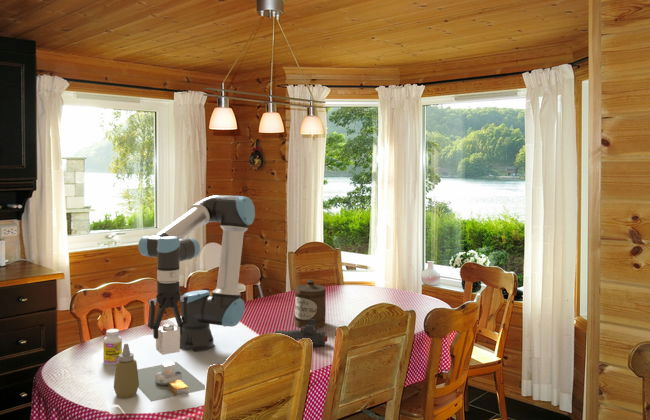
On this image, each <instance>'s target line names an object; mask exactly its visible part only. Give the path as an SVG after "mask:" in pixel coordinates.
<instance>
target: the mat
mask: <svg viewBox="0 0 650 420" xmlns="http://www.w3.org/2000/svg"><path fill="white" fill-rule="evenodd" d="M173 363H174V364H175V370H176V371H179V372H181V381H182V382H183V383H184V384H185V385H187V386H188V393H187V394H190V393H191V394H192V393H195V392H200V391H205V390H206V389H205V386H206V385H205V384H204V383H202V382H201V381H200V380H199V379H197V377H195V376H194V375H193V373H191V372H189V371H188V370H187V369H186V368H184V367H183V366H182V365H181V364H180V363H179V362H177V361H175V362H173ZM137 371H138V379H139V386H138V389H139V390H140V391H141V392H142V393H143V394H144V395H145V396H146V397H147V399H148V400H149V401H150V402H156V401H159V400H163V399H164V400H165V399H168V398H174V397H177V396H176V395H175V394H174V393H173V392H172V391H171V390H170V389H169V388H168V387H163V386H158V385H156V384H155V375H156V374H157V373H158V372H161V371H162V364H159V365H154V366H148V367H144V368H137ZM182 395H184V394H182ZM182 395H181V396H182Z"/></svg>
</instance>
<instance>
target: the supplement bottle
mask: <svg viewBox="0 0 650 420" xmlns="http://www.w3.org/2000/svg"><path fill="white" fill-rule="evenodd" d="M105 334H106V336H105V337H104V338H103V364H104V365H108V366H109V365H116V362H117V361H119V355H120V354H122V352H123V343H122V342H123V341H122V339H123V337H121V335H120V330H119V329H118V328H110V329H106V332H105Z"/></svg>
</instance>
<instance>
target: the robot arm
mask: <svg viewBox="0 0 650 420" xmlns="http://www.w3.org/2000/svg"><path fill="white" fill-rule="evenodd" d="M255 210H256V208H255V205H254V203H253V201H252V199H251V198H250V197H248V196H244V195H243V196H242V195H225V194H213V195H210V196H208V197H205V198H202V199H201V200H199V201H197V202H195V203H194V204H193V205H191V206H190V208H189V209H188V211H187V212H185V213H184V214H182V215H181V216H179V217H178V218H177V219H175V220H174V221H173V222H172V223H170V224H168V225H167V226H166V227H164V228H162V230H159V231H158V232H157V233H155V234H154V235H144V236H142V237H141V238H140V239H139V241H138V243H137V244H138V245H137V246H138V247H137V248H138V252H139V253H140V254H141V256H144V257H149V258H156V261H157V263H156V265H157V266H156V267H157V270H156V280H157V282H156V285H157V286H156V296H155V298H153V299H148V300H147V303H148V306H149V307H148V319H147V320H148V321H147V327H148V328H149V329H150V330H153V332H152V333H153V335H152V336H153V339H154V340H155V347H157V348H161V330H160V329H159V327H161V323H162V319H163V315H164V313H165V311H166V309H168V308H171V309H172V312H173V316H174V317H175V321H176V324H177V325H174V326H175V327H177V328H178V329H180V350H181V349H182V350H186V351H193V352H199V351H207V350H209V349H211V348H213V346H215V345H214V341H215V340H214V336H213V334H212V330H211V327H210V325H215V326H216V325H217V326H222V327H233V328H234V327H235V326H237V325H238V324H240V322H241V320H242V319H243V316H244V313H245V309H246V308H245V307H246V306H245V301H244V299H242V298H241V293H240V292H239V290H238V289H239V278H240V270H241V262H242V261H241V260H242V254H243V253H242V251H243V243H244V242H243V241H244V233H245V232H247V231H248V230H249V226H250V225H252V224H253V223H254V220H255V217H256V211H255ZM208 223H220V225H219V226H220V228H221V229H222V240H221V248H220V254H219V255H220V257H219V265H218V274H217V282H216V288H214V290H213V291H212V293H210V292H211V291H210V290H209V289H208V290H207V289H203V290H202V289H199V290H192V291H188V292H185V293H184V294H183V295H181V294H180V281H179V280H180V263H181V262H183V261H188V260H192V259H194V258H196V257H197V256H199V254H200V252H201V246H200V243H199V241H198V240H197V239H195V238H193V237H192V238H191V237H190V238H189V237H188V235H190V234H192V233H193V232H194V231H195V230H197V229H198V228H199V227H200V226H206V225H207V224H208ZM179 301H180V311H179V307H178V302H179ZM157 303H158V308H157V309H158V310H157V313H156V305H157ZM180 312H181V313H180ZM155 314H156V316H155ZM180 314H181V315H180Z"/></svg>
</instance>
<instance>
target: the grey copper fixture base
mask: <svg viewBox="0 0 650 420" xmlns="http://www.w3.org/2000/svg"><path fill="white" fill-rule="evenodd" d="M161 365H162V371H161V372H158V373H157V374H156V375H155V384H156V385H158V386H163V387H168V388H169V389H170V390H171V391H172V392H173V393H174V394H175V395H176V396H175V397H177V396H182V394H183V395H186V394H189V393H188V386H187V385H185V384H184V383H183V382H182V381H181V372H179V371H176V370H175V364H174V362H173V361H166V362H162V363H161Z"/></svg>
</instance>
